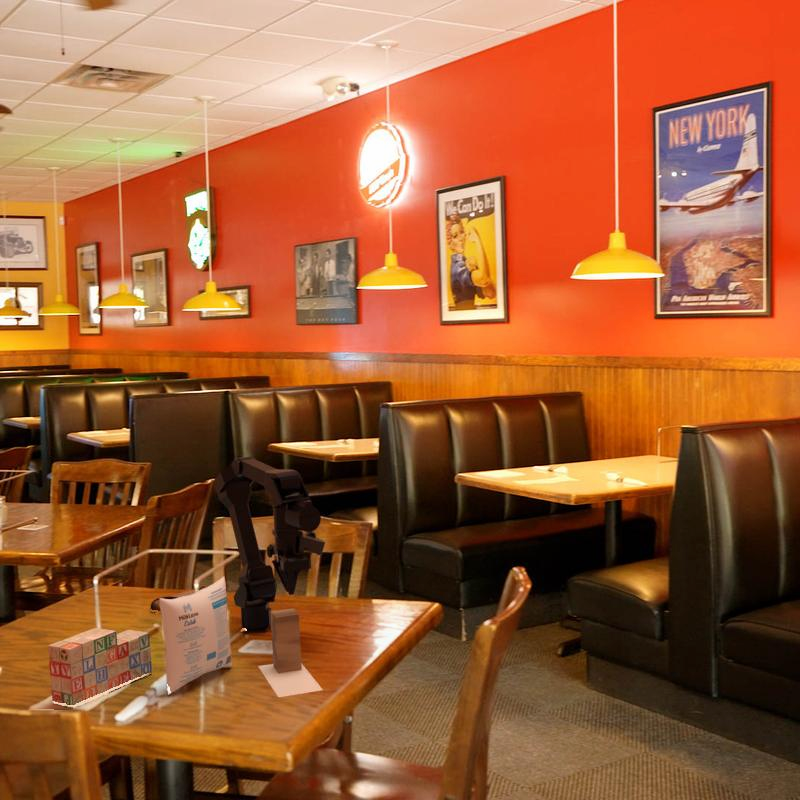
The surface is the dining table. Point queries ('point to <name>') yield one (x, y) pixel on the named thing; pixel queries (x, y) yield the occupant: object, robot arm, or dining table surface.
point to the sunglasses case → (156, 603)
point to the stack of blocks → (97, 663)
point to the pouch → (196, 634)
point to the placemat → (290, 681)
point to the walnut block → (286, 640)
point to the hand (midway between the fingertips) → (290, 593)
